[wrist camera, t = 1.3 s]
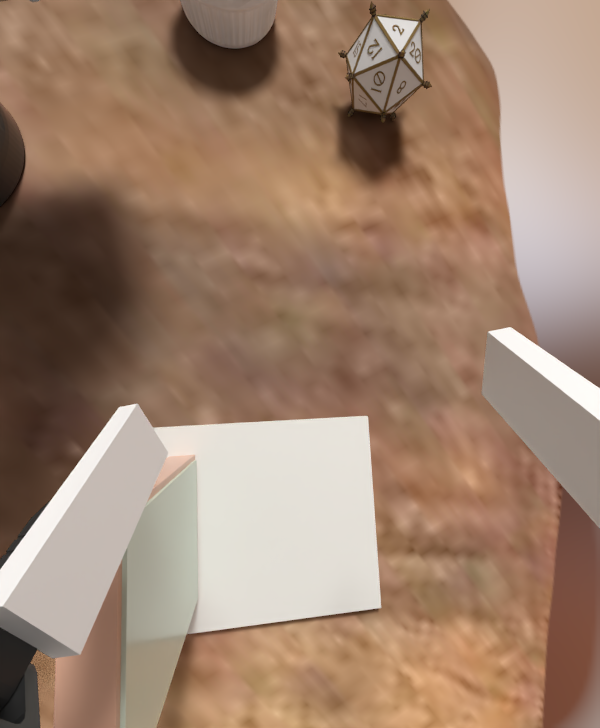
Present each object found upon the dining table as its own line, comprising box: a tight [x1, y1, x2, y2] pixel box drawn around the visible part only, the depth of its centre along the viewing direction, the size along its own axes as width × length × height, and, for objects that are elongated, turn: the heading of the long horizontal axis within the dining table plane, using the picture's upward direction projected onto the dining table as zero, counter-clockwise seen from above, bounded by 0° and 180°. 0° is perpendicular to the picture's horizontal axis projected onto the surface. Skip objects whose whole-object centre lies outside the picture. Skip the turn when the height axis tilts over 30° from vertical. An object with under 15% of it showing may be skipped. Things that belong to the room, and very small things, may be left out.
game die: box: [339, 1, 432, 123], centre depth 31 cm, size 9×8×10 cm
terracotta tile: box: [54, 455, 198, 728], centre depth 20 cm, size 12×2×15 cm, turn 3°
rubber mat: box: [153, 416, 381, 634], centre depth 28 cm, size 21×17×1 cm
